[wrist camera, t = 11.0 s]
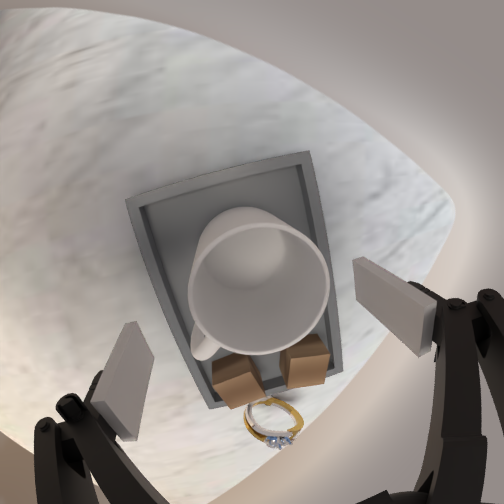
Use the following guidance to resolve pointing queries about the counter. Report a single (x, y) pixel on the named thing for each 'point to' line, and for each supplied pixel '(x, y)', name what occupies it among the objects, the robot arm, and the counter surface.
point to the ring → (268, 436)
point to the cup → (254, 285)
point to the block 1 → (237, 380)
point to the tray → (189, 232)
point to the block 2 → (304, 362)
